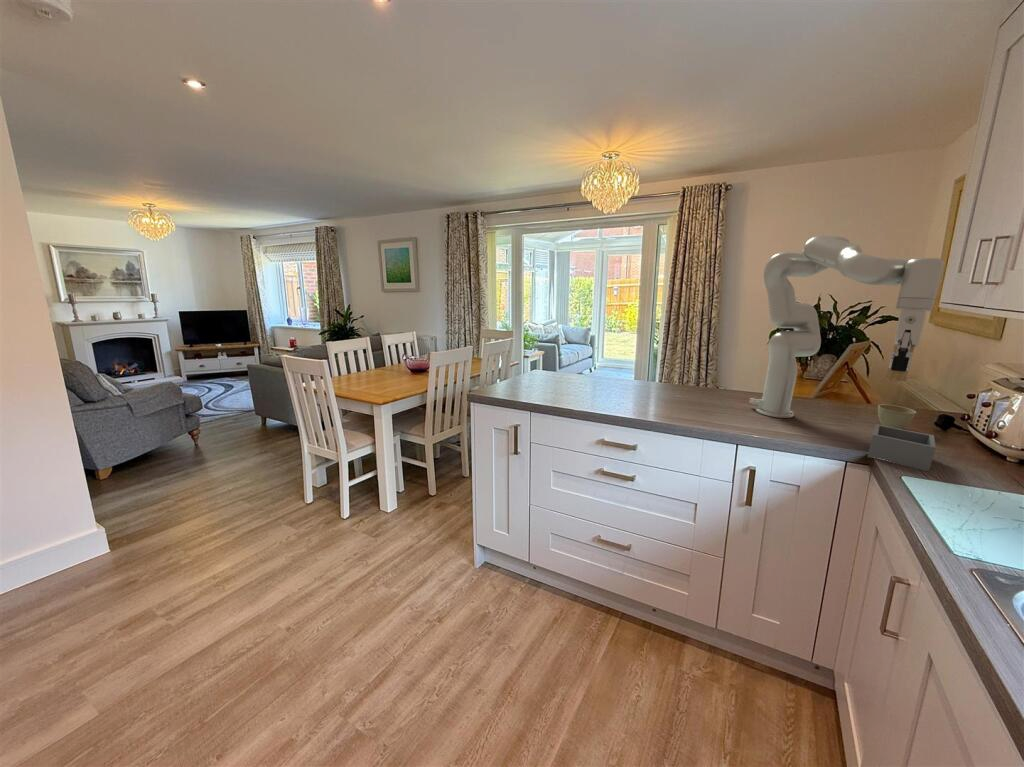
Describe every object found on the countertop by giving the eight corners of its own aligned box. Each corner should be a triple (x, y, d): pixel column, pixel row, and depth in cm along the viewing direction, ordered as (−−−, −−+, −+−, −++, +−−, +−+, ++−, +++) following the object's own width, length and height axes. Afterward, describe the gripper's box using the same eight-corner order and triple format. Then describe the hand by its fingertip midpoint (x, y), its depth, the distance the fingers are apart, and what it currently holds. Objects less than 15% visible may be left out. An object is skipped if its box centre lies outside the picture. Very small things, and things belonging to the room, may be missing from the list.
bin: (867, 457, 123) (873, 434, 121) (870, 445, 132) (875, 424, 130) (928, 471, 114) (935, 447, 113) (927, 457, 124) (933, 435, 122)
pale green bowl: (867, 424, 152) (871, 405, 150) (884, 421, 155) (889, 403, 153) (899, 434, 143) (905, 414, 141) (917, 431, 146) (922, 411, 144)
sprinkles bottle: (881, 378, 123) (892, 332, 119) (895, 378, 123) (906, 332, 120) (896, 382, 118) (908, 334, 115) (911, 382, 119) (923, 334, 115)
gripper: (934, 306, 107) (916, 376, 111) (932, 304, 119) (916, 367, 123) (895, 304, 112) (879, 371, 116) (897, 303, 124) (883, 364, 128)
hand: (898, 368), depth 120 cm, fingers closed on sprinkles bottle, 4 cm apart
